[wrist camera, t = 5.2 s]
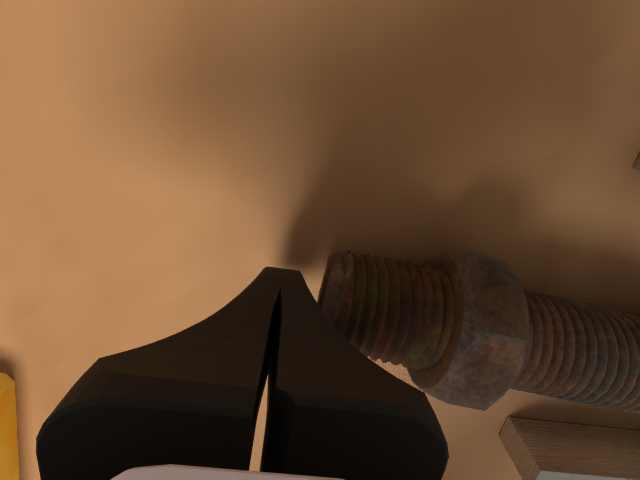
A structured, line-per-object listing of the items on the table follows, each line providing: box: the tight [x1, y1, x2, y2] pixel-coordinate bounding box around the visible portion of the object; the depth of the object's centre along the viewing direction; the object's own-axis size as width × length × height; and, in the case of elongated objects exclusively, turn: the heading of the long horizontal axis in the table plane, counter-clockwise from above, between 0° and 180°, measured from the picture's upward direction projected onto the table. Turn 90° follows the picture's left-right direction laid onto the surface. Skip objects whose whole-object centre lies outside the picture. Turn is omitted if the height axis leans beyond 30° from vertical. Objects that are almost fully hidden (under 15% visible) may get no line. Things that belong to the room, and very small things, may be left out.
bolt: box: [317, 249, 640, 415], centre depth 12 cm, size 6×5×15 cm
